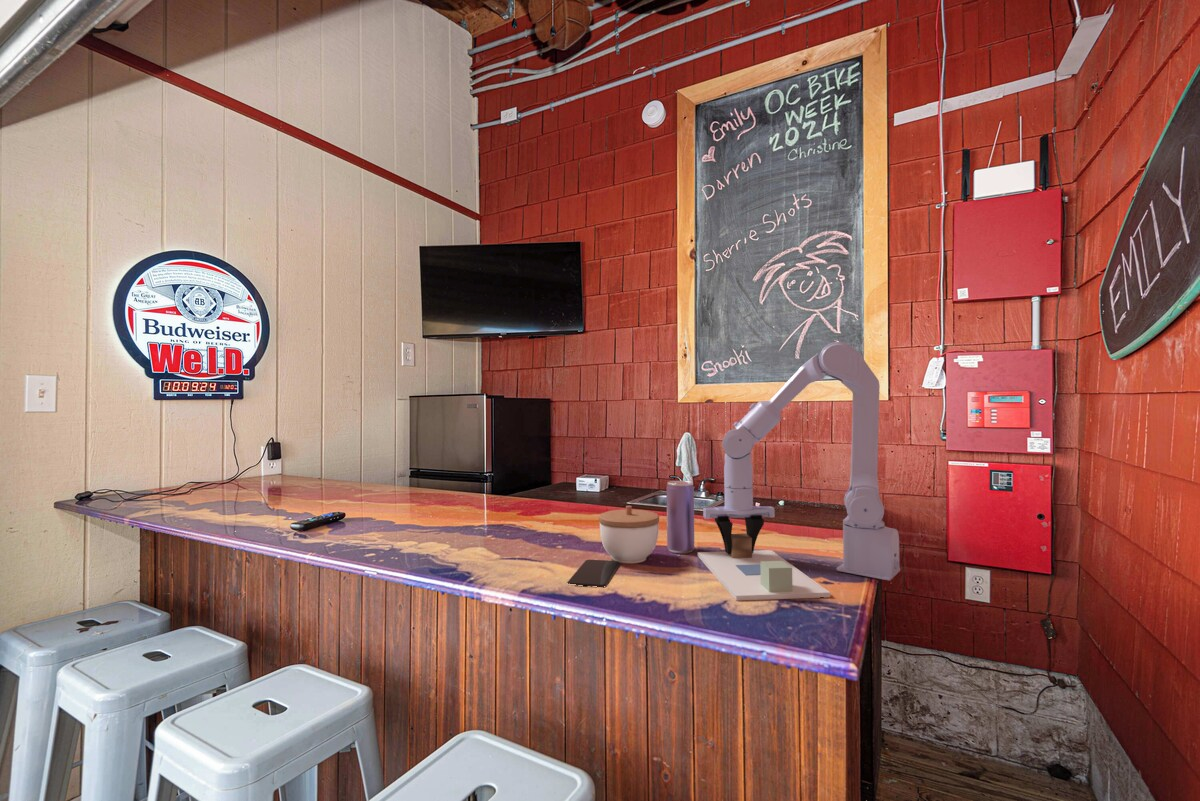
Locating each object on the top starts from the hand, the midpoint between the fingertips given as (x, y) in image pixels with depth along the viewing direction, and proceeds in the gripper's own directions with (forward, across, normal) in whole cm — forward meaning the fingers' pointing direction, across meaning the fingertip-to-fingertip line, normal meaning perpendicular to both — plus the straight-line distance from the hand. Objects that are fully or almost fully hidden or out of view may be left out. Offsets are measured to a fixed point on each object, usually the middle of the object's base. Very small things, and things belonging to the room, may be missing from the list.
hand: (739, 552), depth 114 cm
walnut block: (+1, 0, 0) cm, 1 cm away
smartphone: (+2, +30, +6) cm, 31 cm away
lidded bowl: (+2, +23, -3) cm, 23 cm away
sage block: (+1, 0, +20) cm, 20 cm away
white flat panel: (+1, 0, +10) cm, 10 cm away
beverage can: (+2, +11, -8) cm, 13 cm away
